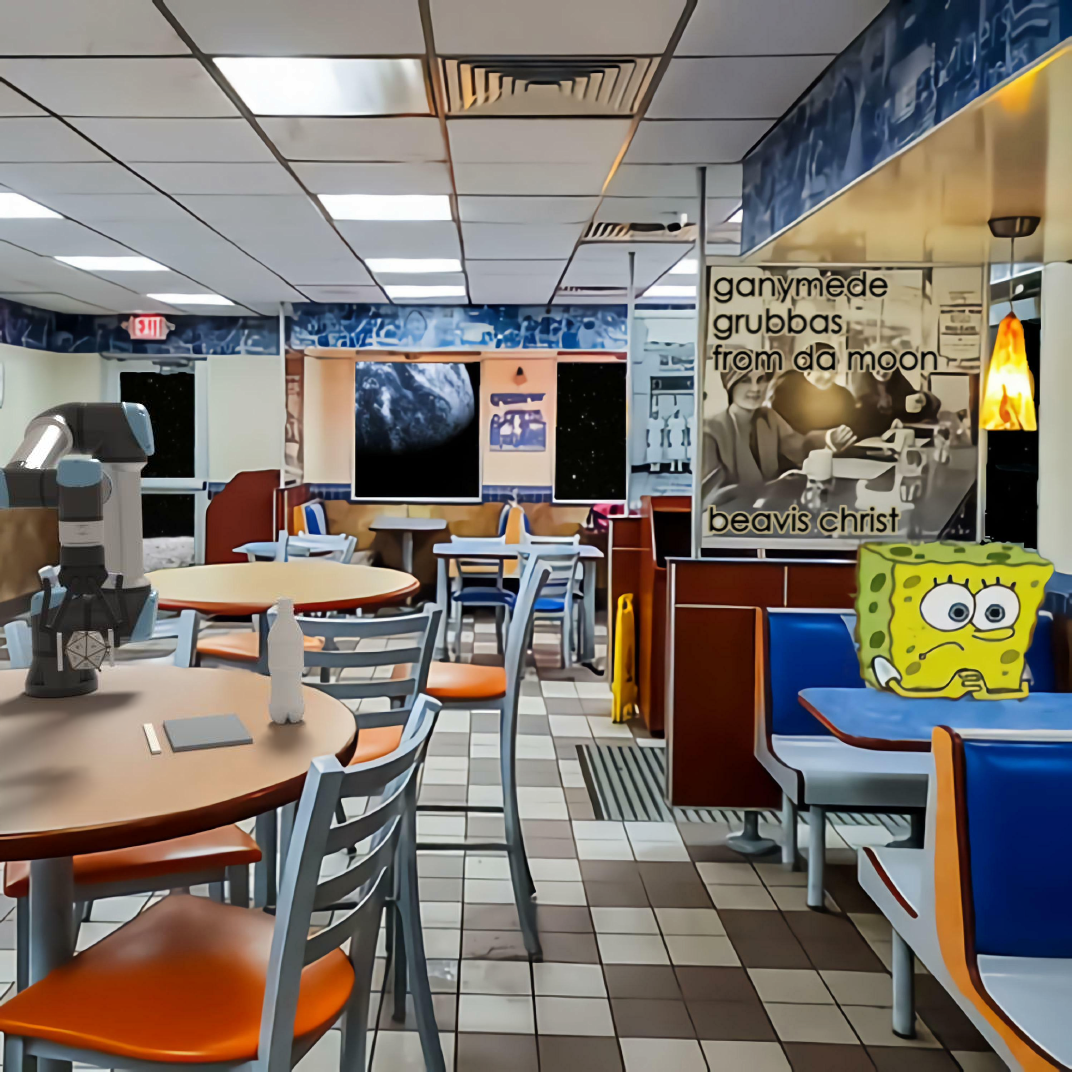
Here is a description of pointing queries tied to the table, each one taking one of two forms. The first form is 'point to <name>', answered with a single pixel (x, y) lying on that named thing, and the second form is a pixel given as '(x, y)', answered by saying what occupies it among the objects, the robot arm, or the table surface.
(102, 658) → the game die
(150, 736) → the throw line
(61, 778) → the table surface
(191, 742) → the mat
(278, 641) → the water bottle
